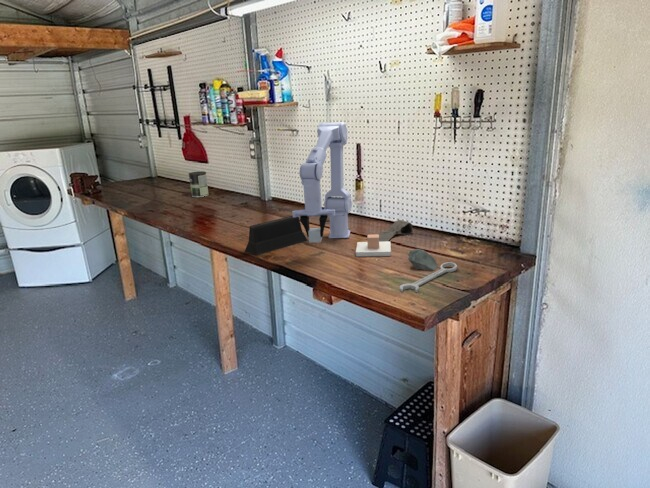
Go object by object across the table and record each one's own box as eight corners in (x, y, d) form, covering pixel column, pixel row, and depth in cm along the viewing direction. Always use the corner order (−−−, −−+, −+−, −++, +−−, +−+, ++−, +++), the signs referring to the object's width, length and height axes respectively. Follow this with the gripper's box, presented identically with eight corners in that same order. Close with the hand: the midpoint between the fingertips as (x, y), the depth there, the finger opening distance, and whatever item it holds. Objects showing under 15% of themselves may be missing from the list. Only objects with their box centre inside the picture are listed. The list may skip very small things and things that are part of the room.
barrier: (256, 256, 170) (254, 229, 168) (244, 251, 177) (241, 225, 174) (308, 241, 185) (306, 216, 182) (294, 237, 191) (292, 213, 188)
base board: (357, 245, 175) (357, 242, 174) (390, 245, 173) (390, 241, 173) (355, 256, 163) (355, 252, 163) (390, 255, 162) (390, 251, 161)
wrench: (411, 296, 130) (411, 289, 129) (395, 291, 134) (395, 285, 133) (460, 270, 147) (461, 264, 146) (445, 266, 150) (445, 260, 150)
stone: (442, 263, 155) (414, 252, 159) (445, 253, 153) (417, 242, 157) (432, 277, 147) (402, 265, 150) (436, 267, 145) (406, 254, 148)
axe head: (379, 241, 173) (361, 236, 181) (381, 253, 175) (363, 248, 183) (417, 221, 184) (398, 217, 192) (418, 233, 186) (399, 228, 194)
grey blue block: (310, 239, 167) (310, 228, 166) (322, 238, 167) (321, 228, 166) (309, 242, 164) (308, 231, 163) (320, 242, 163) (319, 231, 162)
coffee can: (192, 198, 284) (188, 174, 280) (191, 195, 293) (188, 172, 289) (209, 196, 287) (206, 173, 283) (208, 193, 296) (205, 170, 292)
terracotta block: (368, 245, 170) (367, 234, 168) (379, 245, 169) (379, 234, 168) (367, 248, 166) (367, 237, 165) (379, 248, 165) (378, 237, 164)
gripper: (289, 201, 158) (292, 240, 162) (332, 199, 156) (334, 239, 160) (293, 196, 165) (296, 234, 169) (334, 195, 163) (336, 233, 167)
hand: (315, 236), depth 165 cm, fingers closed on grey blue block, 4 cm apart
